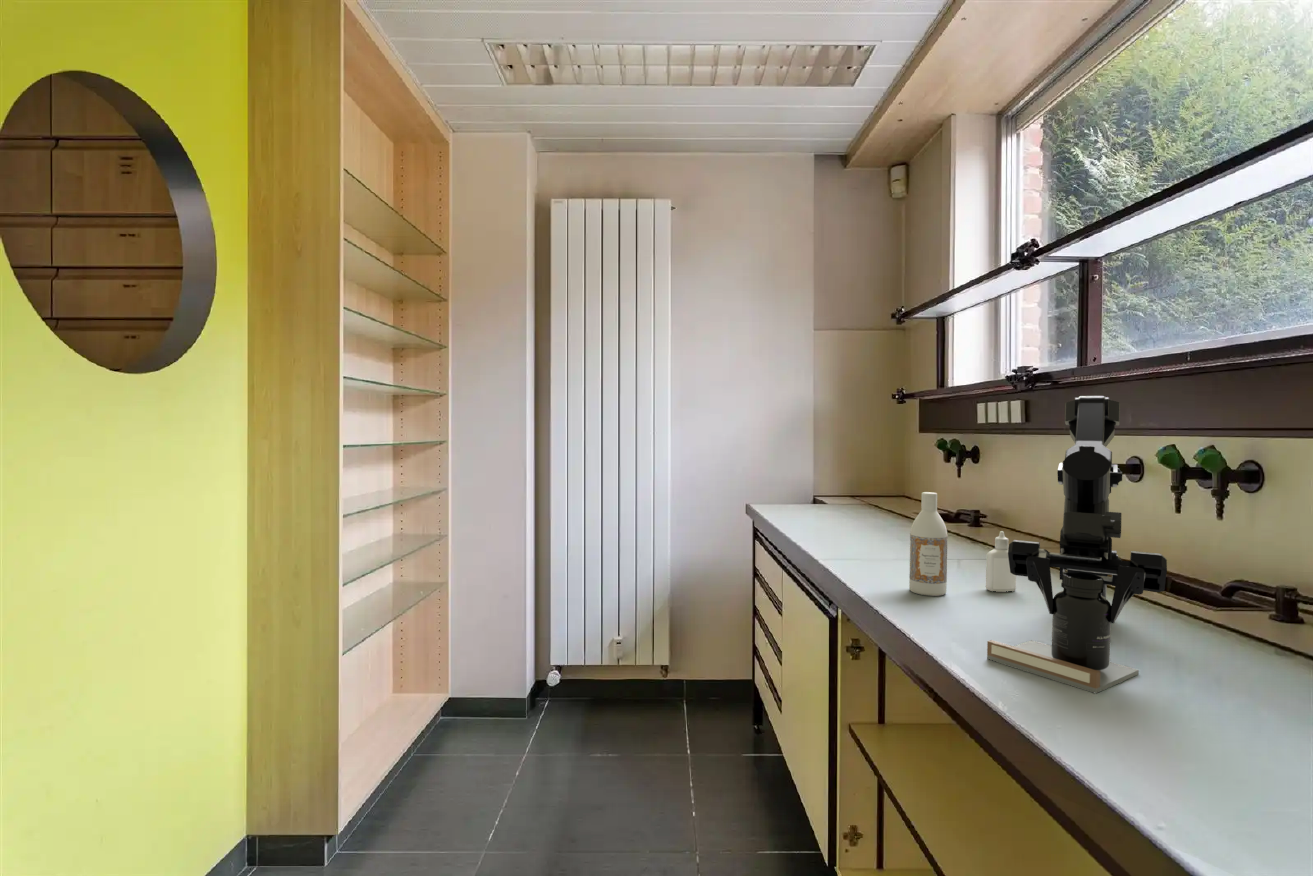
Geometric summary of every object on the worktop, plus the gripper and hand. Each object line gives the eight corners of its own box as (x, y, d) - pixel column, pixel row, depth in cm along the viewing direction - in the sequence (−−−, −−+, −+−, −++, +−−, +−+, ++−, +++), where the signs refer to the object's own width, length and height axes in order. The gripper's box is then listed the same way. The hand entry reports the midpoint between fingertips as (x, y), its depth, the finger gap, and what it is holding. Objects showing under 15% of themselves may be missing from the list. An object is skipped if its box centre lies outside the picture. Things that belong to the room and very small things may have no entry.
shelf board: (1031, 644, 105) (1031, 627, 105) (1138, 674, 92) (1139, 655, 92) (986, 659, 98) (986, 641, 98) (1095, 693, 86) (1095, 673, 86)
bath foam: (910, 595, 133) (911, 494, 133) (908, 586, 140) (909, 490, 139) (948, 598, 131) (950, 495, 131) (944, 589, 138) (946, 491, 137)
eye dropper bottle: (1017, 594, 134) (1019, 534, 134) (986, 591, 136) (987, 532, 136) (1014, 589, 139) (1015, 530, 138) (984, 586, 141) (985, 529, 140)
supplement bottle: (1112, 675, 88) (1115, 584, 88) (1052, 666, 91) (1054, 578, 91) (1107, 658, 94) (1109, 573, 94) (1050, 650, 98) (1052, 567, 97)
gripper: (1010, 485, 100) (999, 574, 92) (1168, 494, 90) (1171, 595, 81) (1015, 530, 107) (1005, 617, 99) (1162, 543, 97) (1165, 641, 88)
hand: (1080, 617), depth 91 cm, fingers closed on supplement bottle, 7 cm apart
